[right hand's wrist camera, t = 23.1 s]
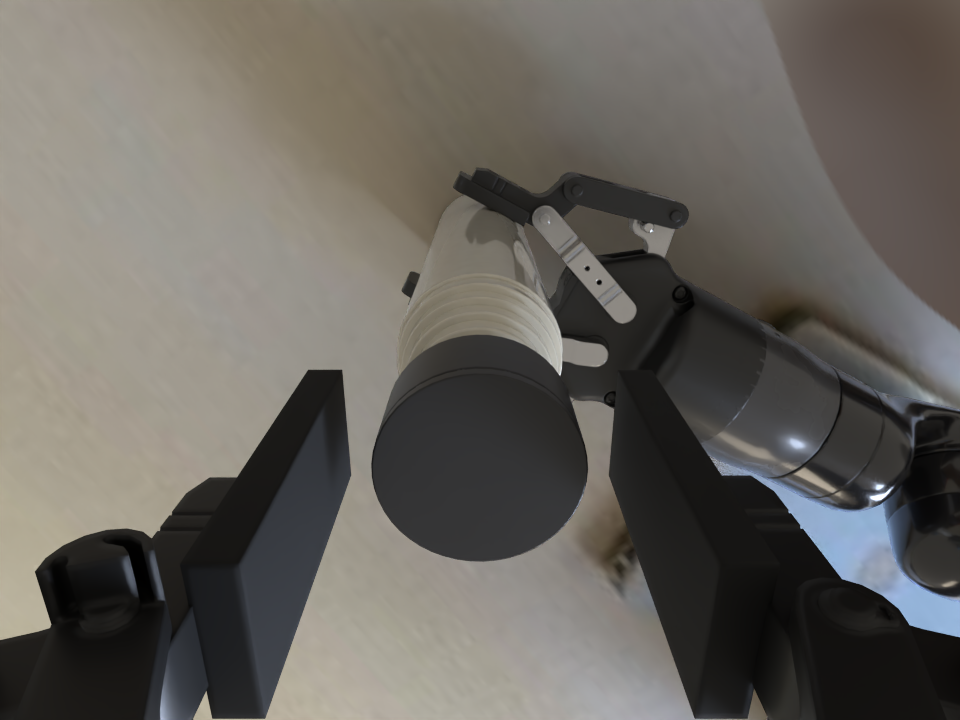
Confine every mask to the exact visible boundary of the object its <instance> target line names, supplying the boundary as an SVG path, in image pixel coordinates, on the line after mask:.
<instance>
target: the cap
mask: <svg viewBox="0 0 960 720" xmlns="http://www.w3.org/2000/svg"><path fill="white" fill-rule="evenodd" d="M371 465H372V479H373V485H374V489H375V492H376V495H377V498H378V501H379V502H380V504H381V506H382V508H383V510H384V512H385V513H386V515H387V516H388V518H389V519H390V521H391V522H392V523H393V524H394V525H395V526H396V527H397V528H398V529H399V531H401V532H402V533H403V534H404V535H405V536H406V537H408V538H409V539H410V540H412V541H413V542H415V543H416V544H418V545H419V546H421V547H423V548H425V549H427V550H429V551H431V552H434V553H436V554H439V555H442V556H445V557H449V558H453V559H457V560H465V561H495V560H501V559H506V558H511V557H514V556H517V555H521V554H523V553H526V552H528V551H530V550H532V549H535V548H536V547H538V546H540V545H541V544H543V543H545V542H546V541H548V540H549V539H550V538H552V537H553V536H554V535H556V534H557V533H558V532H559V531H560V530H561V529H562V528H563V527H564V526H565V524H566V523H567V522H568V521H569V519H570V518H571V517H572V516H573V514H574V512H575V510H576V509H577V507H578V505H579V503H580V501H581V498H582V496H583V494H584V490H585V486H586V482H587V473H588V462H587V453H586V448H585V444H584V441H583V438H582V434H581V431H580V428H579V425H578V422H577V418H576V415H575V412H574V409H573V406H572V402H571V399H570V396H569V393H568V391H567V388H566V386H565V384H564V382H563V380H562V378H561V377H560V375H559V374H558V372H557V371H556V370H555V368H554V367H553V366H552V365H551V364H550V363H549V362H548V361H547V360H546V359H545V358H544V357H542V356H541V355H540V354H539V353H537V352H536V351H534V350H533V349H531V348H529V347H527V346H526V345H524V344H521V343H519V342H517V341H514V340H511V339H507V338H504V337H499V336H493V335H467V336H460V337H456V338H451V339H448V340H446V341H443V342H440V343H438V344H436V345H434V346H432V347H430V348H428V349H427V350H425V351H424V352H422V353H421V354H419V355H418V356H417V357H416V358H415V359H414V360H412V361H411V362H410V363H409V364H408V365H407V367H406V368H405V369H404V370H403V371H402V373H401V374H400V376H399V378H398V379H397V381H396V382H395V385H394V387H393V389H392V392H391V394H390V397H389V401H388V404H387V407H386V410H385V413H384V416H383V420H382V423H381V426H380V429H379V432H378V435H377V438H376V442H375V446H374V449H373V455H372V464H371Z"/></svg>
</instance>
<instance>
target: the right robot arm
mask: <svg viewBox="0 0 960 720" xmlns="http://www.w3.org/2000/svg"><path fill="white" fill-rule="evenodd" d="M350 477H351V468H350V456H349V444H348V433H347V421H346V409H345V398H344V386H343V374H342V370H308V371H307V373H306V374H305V376H304V377H303V379H302V380H301V382H300V383H299V385H298V386H297V388H296V389H295V391H294V392H293V394H292V395H291V397H290V398H289V400H288V401H287V403H286V404H285V406H284V407H283V409H282V410H281V412H280V413H279V415H278V416H277V418H276V419H275V421H274V422H273V424H272V426H271V427H270V429H269V430H268V432H267V433H266V435H265V436H264V438H263V439H262V441H261V442H260V444H259V445H258V447H257V448H256V450H255V451H254V453H253V454H252V456H251V457H250V459H249V460H248V462H247V463H246V465H245V466H244V468H243V469H242V471H241V472H240V474H239V475H238V477H237V478H208V479H207V480H205V481H204V482H202V483H201V484H199V485H198V486H197V487H195V488H194V489H192V490H191V491H189V492H188V493H186V494H185V496H184V497H183V498H182V500H181V501H180V502H179V504H178V505H177V506H176V508H175V509H174V510H173V511H172V516H169V517H168V518H167V519H166V521H165V522H164V523H163V524H162V526H161V527H160V531H157V532H156V534H155V535H154V536H153V538H152V539H151V538H150V537H149V536H148V535H146V534H145V533H144V532H142V531H137V530H132V529H114V530H105V531H101V532H97V533H93V534H90V535H86V536H83V537H81V538H79V539H77V540H74V541H72V542H70V543H68V544H66V545H63V546H62V547H61V548H59V549H58V550H56V551H55V552H54V553H52V554H51V555H49V556H48V557H47V558H45V560H44V561H43V562H42V563H41V565H40V566H39V567H38V569H37V570H36V571H35V573H36V577H37V580H38V583H39V586H40V589H41V593H42V596H43V599H44V602H45V605H46V608H47V612H48V615H49V618H50V621H51V624H52V625H51V627H50V628H49V629H46V630H42V631H39V632H35V633H30V634H26V635H21V636H17V637H12V638H8V639H4V640H0V720H193V718H194V715H195V713H196V711H197V709H198V707H199V705H200V703H201V701H202V698H203V696H204V694H205V692H206V691H207V695H208V700H209V705H210V709H211V714H212V719H265V718H266V715H267V712H268V709H269V706H270V703H271V701H272V698H273V695H274V692H275V689H276V686H277V684H278V681H279V678H280V675H281V672H282V669H283V667H284V664H285V661H286V658H287V655H288V652H289V650H290V647H291V644H292V641H293V638H294V635H295V633H296V630H297V627H298V624H299V621H300V618H301V616H302V613H303V610H304V607H305V604H306V601H307V599H308V596H309V593H310V590H311V587H312V584H313V582H314V579H315V576H316V573H317V570H318V567H319V565H320V562H321V559H322V556H323V553H324V551H325V548H326V545H327V542H328V539H329V536H330V534H331V531H332V528H333V525H334V522H335V519H336V517H337V514H338V511H339V508H340V505H341V502H342V500H343V497H344V494H345V491H346V488H347V485H348V483H349V480H350ZM609 477H610V480H611V483H612V485H613V488H614V491H615V494H616V497H617V500H618V502H619V505H620V508H621V511H622V514H623V517H624V519H625V522H626V525H627V528H628V531H629V534H630V536H631V539H632V542H633V545H634V548H635V551H636V553H637V556H638V559H639V562H640V565H641V568H642V570H643V573H644V576H645V579H646V582H647V584H648V587H649V590H650V593H651V596H652V599H653V601H654V604H655V607H656V610H657V613H658V616H659V618H660V621H661V624H662V627H663V630H664V633H665V635H666V638H667V641H668V644H669V647H670V650H671V652H672V655H673V658H674V661H675V664H676V667H677V669H678V672H679V675H680V678H681V681H682V684H683V686H684V689H685V692H686V695H687V698H688V701H689V703H690V706H691V709H692V712H693V715H694V718H695V719H748V714H749V709H750V705H751V700H752V695H753V690H754V689H755V691H756V693H757V695H758V697H759V700H760V702H761V704H762V706H763V708H764V710H765V712H766V714H767V716H768V717H767V720H960V637H955V636H951V635H946V634H942V633H937V632H933V631H928V630H924V629H920V628H917V627H913V626H910V625H909V624H908V622H907V621H906V619H905V618H904V616H903V615H902V613H901V612H900V610H899V609H898V608H897V607H895V606H894V605H893V604H892V603H891V602H889V601H888V600H887V599H886V598H884V597H883V596H882V595H880V594H878V593H876V592H874V591H872V590H870V589H868V588H866V587H864V586H863V585H860V584H856V583H853V582H849V581H846V580H843V579H841V577H840V576H839V575H838V574H837V572H836V571H835V570H834V568H833V567H832V566H831V564H830V563H829V562H828V561H827V559H826V558H825V557H824V555H823V554H822V553H821V552H820V550H819V549H818V548H817V546H816V545H815V544H814V542H813V541H812V540H811V539H810V537H809V536H808V535H807V533H806V532H805V531H804V529H800V524H799V523H798V522H797V520H796V519H795V518H794V517H793V515H792V514H791V513H788V509H787V507H786V506H785V505H784V504H783V502H782V501H781V500H780V498H779V497H778V496H777V495H776V493H775V492H774V491H773V490H771V489H770V488H768V487H767V486H765V485H764V484H762V483H761V482H759V481H758V480H756V479H755V478H753V477H752V476H722V475H721V474H720V472H719V471H718V469H717V468H716V466H715V465H714V463H713V462H712V460H711V459H710V457H709V456H708V454H707V453H706V451H705V450H704V448H703V447H702V445H701V444H700V442H699V441H698V439H697V438H696V436H695V435H694V433H693V432H692V430H691V429H690V427H689V426H688V424H687V422H686V421H685V419H684V418H683V416H682V415H681V413H680V412H679V410H678V409H677V407H676V406H675V404H674V403H673V401H672V400H671V398H670V397H669V395H668V394H667V392H666V391H665V389H664V388H663V386H662V385H661V383H660V382H659V380H658V379H657V377H656V376H655V374H654V373H653V371H652V370H618V374H617V386H616V397H615V409H614V421H613V433H612V444H611V456H610V468H609Z"/></svg>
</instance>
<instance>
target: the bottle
mask: <svg viewBox="0 0 960 720" xmlns="http://www.w3.org/2000/svg"><path fill="white" fill-rule="evenodd" d="M467 335H493V336H499V337H504V338H507V339H511V340H514V341H517V342H519V343H521V344H524V345H526V346H527V347H529V348H531V349H533V350H534V351H536V352H537V353H539V354H540V355H541V356H542V357H544V358H545V359H546V360H547V361H548V362H549V363H550V364H551V365H552V366H553V367H554V368H555V370H556V371H557V372H558V374H559V375H560V376H561V371H562V360H563V359H562V356H563V345H562V337H561V333H560V329H559V326H558V324H557V321H556V318H555V315H554V312H553V310H552V307H551V304H550V301H549V299H548V296H547V293H546V290H545V288H544V285H543V282H542V279H541V277H540V274H539V271H538V268H537V266H536V263H535V260H534V257H533V255H532V252H531V249H530V246H529V244H528V241H527V238H526V235H525V233H524V230H523V227H522V225H520V224H518V223H516V222H514V221H512V220H511V219H509V218H507V217H506V216H504V215H502V214H500V213H498V212H496V211H494V210H492V209H490V208H488V207H486V206H485V205H483V204H481V203H479V202H477V201H475V200H473V199H472V198H470V197H468V196H466V195H462V196H460V197H459V198H457V199H455V200H454V201H453V202H452V203H451V204H450V205H449V206H448V207H447V208H446V210H445V211H444V213H443V214H442V216H441V219H440V222H439V224H438V227H437V230H436V232H435V235H434V238H433V241H432V243H431V246H430V249H429V251H428V254H427V257H426V260H425V262H424V265H423V268H422V271H421V273H420V276H419V279H418V281H417V284H416V287H415V290H414V292H413V295H412V298H411V301H410V303H409V306H408V309H407V311H406V314H405V317H404V320H403V322H402V325H401V328H400V332H399V336H398V342H397V367H398V373H399V376H400V374H401V373H402V371H403V370H404V369H405V368H406V367H407V365H408V364H409V363H410V362H411V361H412V360H414V359H415V358H416V357H417V356H418V355H419V354H421V353H422V352H424V351H425V350H427V349H428V348H430V347H432V346H434V345H436V344H438V343H440V342H443V341H446V340H448V339H451V338H456V337H460V336H467Z"/></svg>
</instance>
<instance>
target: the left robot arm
mask: <svg viewBox="0 0 960 720" xmlns="http://www.w3.org/2000/svg"><path fill="white" fill-rule="evenodd" d="M453 188H454V189H456V190H457V191H459V192H460V193H462V194H464V195H466V196H468V197H470V198H472V199H473V200H475V201H477V202H479V203H481V204H483V205H485V206H486V207H488V208H490V209H492V210H494V211H496V212H498V213H500V214H502V215H504V216H506V217H507V218H509V219H511V220H512V221H514V222H516V223H518V224H520V225H522V226H524V225H525V223H526V222H527V223H528V224H530V225H532V226H534V227H535V228H536V229H537V230H538V231H539V233H540V234H541V235H542V236H543V237H544V238H545V239H546V241H547V242H548V243H549V244H550V245H551V246H552V248H553V249H554V250H555V251H556V252H557V253H558V255H559V256H560V257H561V258H562V260H563V261H564V262H565V263H566V264H567V266H566V268H565V269H564V271H563V273H562V275H561V276H560V278H559V282H558V286H557V289H556V292H555V294H554V295H553V296H552V297H551V298H550V299H549V301H550V304H551V307H552V310H553V312H554V315H555V318H556V321H557V324H558V326H559V329H560V333H561V337H562V345H563V356H562V359H563V360H562V371H561V376H560V377H561V378H562V380H563V382H564V384H565V386H566V388H567V391H568V393H569V396H570V399H571V402H572V401H573V400H574V399H575V400H579V401H598V402H602V403H604V404H606V405H608V406H610V407H612V408H613V409H615V397H616V386H617V374H618V370H652V371H653V373H654V374H655V376H656V377H657V379H658V380H659V382H660V383H661V385H662V386H663V388H664V389H665V391H666V392H667V394H668V395H669V397H670V398H671V400H672V401H673V403H674V404H675V406H676V407H677V409H678V410H679V412H680V413H681V415H682V416H683V418H684V419H685V421H686V422H687V424H688V426H689V427H690V429H691V430H692V432H693V433H694V435H695V436H696V438H697V439H698V441H699V442H700V444H701V445H702V447H703V448H704V450H705V451H706V453H707V454H708V456H710V457H712V458H714V459H717V460H719V461H721V462H723V463H726V464H729V465H731V466H734V467H738V468H741V469H744V470H747V471H750V472H752V473H755V474H757V475H760V476H762V477H764V478H766V479H768V480H770V481H772V482H774V483H776V484H778V485H780V486H782V487H784V488H786V489H788V490H790V491H792V492H794V493H796V494H798V495H800V496H802V497H804V498H806V499H808V500H810V501H813V502H815V503H817V504H820V505H822V506H824V507H827V508H830V509H833V510H838V511H844V512H858V511H864V510H868V509H870V508H873V507H875V506H878V505H880V504H882V503H883V506H884V511H885V517H886V522H887V527H888V533H889V538H890V544H891V548H892V553H893V556H894V559H895V561H896V564H897V566H898V568H899V569H900V571H901V572H902V573H903V574H904V575H905V576H906V577H907V578H908V579H909V580H910V581H911V582H913V583H914V584H916V585H917V586H919V587H920V588H922V589H924V590H926V591H928V592H930V593H932V594H934V595H937V596H939V597H942V598H945V599H949V600H952V601H957V602H960V409H956V408H951V407H947V406H942V405H937V404H933V403H928V402H923V401H919V400H915V399H911V398H906V397H901V396H895V395H889V394H885V393H880V392H878V391H877V390H875V389H873V388H872V387H870V386H868V385H866V384H864V383H863V382H861V381H859V380H857V379H855V378H854V377H852V376H850V375H848V374H846V373H844V372H842V371H841V370H839V369H837V368H835V367H833V366H831V365H830V364H828V363H826V362H825V361H823V360H821V359H820V358H818V357H817V356H816V355H814V354H813V353H812V352H810V351H809V350H808V349H807V348H805V347H804V346H803V345H801V344H800V343H799V342H797V341H795V340H794V339H792V338H790V337H789V336H787V335H785V334H783V333H781V332H780V331H778V330H776V329H775V328H774V327H773V326H772V325H771V324H769V323H767V322H765V321H763V320H760V319H756V318H754V317H752V316H750V315H748V314H747V313H745V312H743V311H741V310H739V309H738V308H736V307H734V306H732V305H730V304H728V303H726V302H725V301H723V300H721V299H719V298H717V297H715V296H714V295H712V294H710V293H708V292H706V291H705V290H703V289H701V288H699V287H697V286H695V285H694V284H692V283H690V282H688V281H686V280H684V279H683V278H681V277H679V276H678V275H676V273H675V272H674V271H673V269H672V267H671V265H670V264H669V262H668V261H667V260H666V259H665V256H666V253H667V251H668V248H669V245H670V242H671V240H672V237H673V234H674V231H675V229H678V228H680V227H682V226H683V225H684V224H685V223H686V222H687V220H688V216H689V213H688V209H687V208H686V206H685V205H683V204H681V203H679V202H677V201H675V200H673V199H671V198H668V197H666V196H662V195H658V194H654V193H650V192H647V191H643V190H639V189H635V188H631V187H628V186H624V185H620V184H616V183H612V182H609V181H605V180H601V179H597V178H593V177H590V176H586V175H582V174H578V173H574V172H567V173H565V174H563V175H562V176H561V177H560V179H559V181H558V182H557V183H556V184H554V185H553V186H552V187H551V188H550V189H549V190H548V191H546V192H544V193H541V194H534V193H531V192H529V191H527V190H525V189H524V188H522V187H520V186H518V185H516V184H514V183H513V182H511V181H509V180H507V179H505V178H504V177H502V176H500V175H498V174H496V173H494V172H493V171H491V170H489V169H485V168H476V170H475V172H474V174H473V176H470V175H468V174H466V173H464V172H462V171H460V173H459V175H458V177H457V179H456V181H455V183H454V186H453ZM576 205H581V206H585V207H589V208H593V209H597V210H600V211H604V212H608V213H612V214H616V215H620V216H624V217H628V218H629V228H630V229H631V231H632V232H634V233H635V234H636V235H637V236H639V237H641V238H642V239H643V242H644V247H643V249H640V250H633V251H626V252H619V253H612V254H605V255H598V256H595V255H594V254H593V253H592V252H591V251H590V250H589V248H588V247H587V246H586V245H585V244H584V243H583V241H582V240H581V239H580V238H579V237H578V235H577V234H576V233H575V232H574V231H573V230H572V228H571V227H570V226H569V225H568V224H567V223H566V221H565V220H564V219H563V217H564V216H565V215H566V214H567V213H568V212H569V211H571V210H572V209H573V208H574V207H575V206H576ZM419 276H420V274H418V273H416V272H410V274H409V276H408V278H407V280H406V282H405V284H404V286H403V288H402V292H403V293H404V294H405V295H407V296H409V297H410V298H412V295H413V292H414V290H415V287H416V284H417V281H418V279H419ZM410 301H411V299H410ZM410 301H409V303H410ZM408 305H409V304H408Z"/></svg>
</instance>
